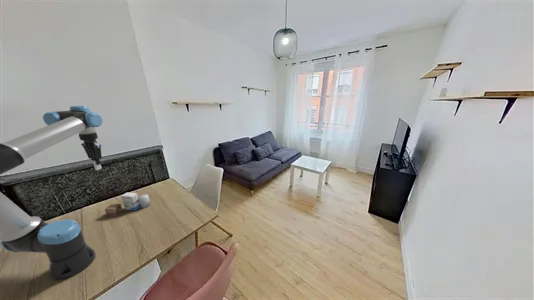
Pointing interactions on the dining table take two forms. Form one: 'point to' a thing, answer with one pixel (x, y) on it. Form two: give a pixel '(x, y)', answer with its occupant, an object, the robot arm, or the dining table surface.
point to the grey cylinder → (144, 201)
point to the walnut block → (113, 210)
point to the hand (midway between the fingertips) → (98, 169)
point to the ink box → (130, 201)
